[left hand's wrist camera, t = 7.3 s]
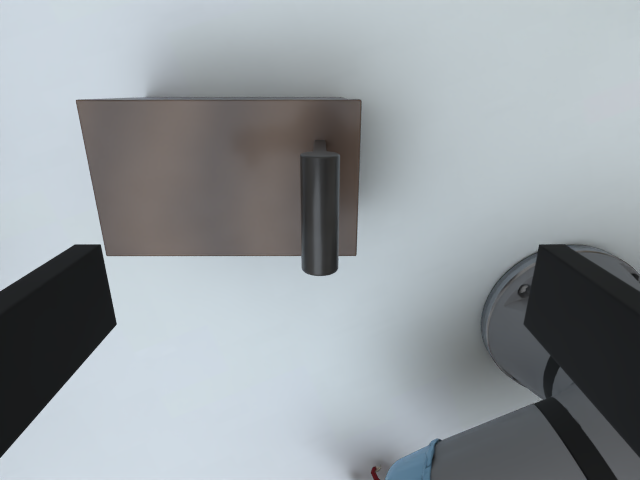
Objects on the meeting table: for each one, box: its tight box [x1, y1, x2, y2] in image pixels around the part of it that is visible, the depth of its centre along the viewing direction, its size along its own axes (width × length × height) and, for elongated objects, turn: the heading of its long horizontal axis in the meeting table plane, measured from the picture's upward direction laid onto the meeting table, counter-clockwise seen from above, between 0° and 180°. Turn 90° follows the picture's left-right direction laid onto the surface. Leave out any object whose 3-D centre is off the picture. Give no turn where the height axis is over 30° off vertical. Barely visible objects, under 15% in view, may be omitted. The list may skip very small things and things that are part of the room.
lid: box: [76, 99, 362, 276], centre depth 23 cm, size 17×10×9 cm, turn 90°
